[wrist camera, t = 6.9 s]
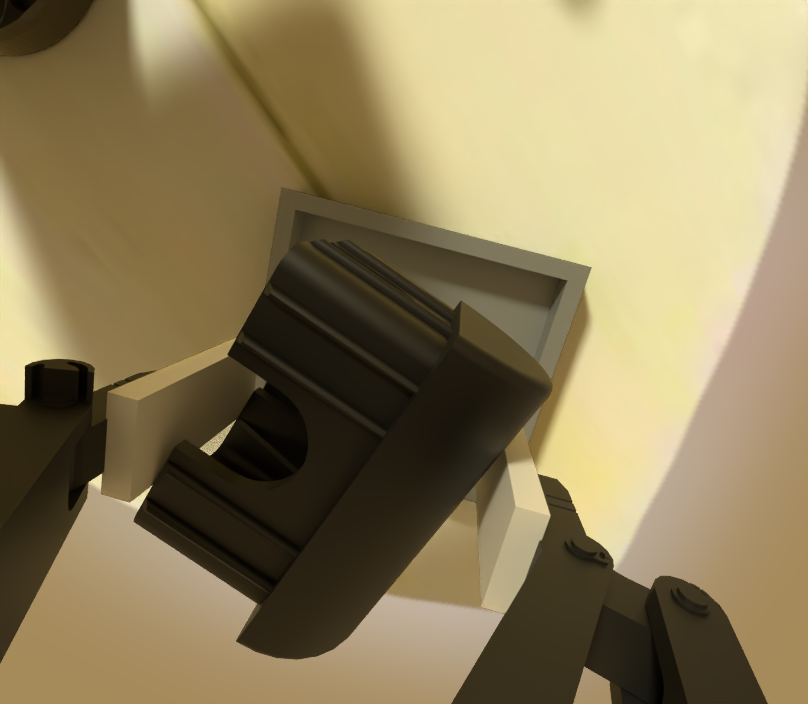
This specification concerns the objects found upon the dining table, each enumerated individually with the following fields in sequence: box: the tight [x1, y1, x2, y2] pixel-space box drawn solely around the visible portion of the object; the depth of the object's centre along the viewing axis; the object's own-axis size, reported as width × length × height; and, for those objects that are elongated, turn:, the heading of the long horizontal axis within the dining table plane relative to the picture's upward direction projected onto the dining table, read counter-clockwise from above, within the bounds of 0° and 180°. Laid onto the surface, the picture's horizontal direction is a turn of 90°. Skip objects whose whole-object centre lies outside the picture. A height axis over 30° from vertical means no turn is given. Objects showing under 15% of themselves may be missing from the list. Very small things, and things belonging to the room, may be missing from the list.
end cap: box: [134, 239, 552, 659], centre depth 14 cm, size 10×7×7 cm
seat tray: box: [254, 188, 592, 502], centre depth 29 cm, size 18×16×3 cm
